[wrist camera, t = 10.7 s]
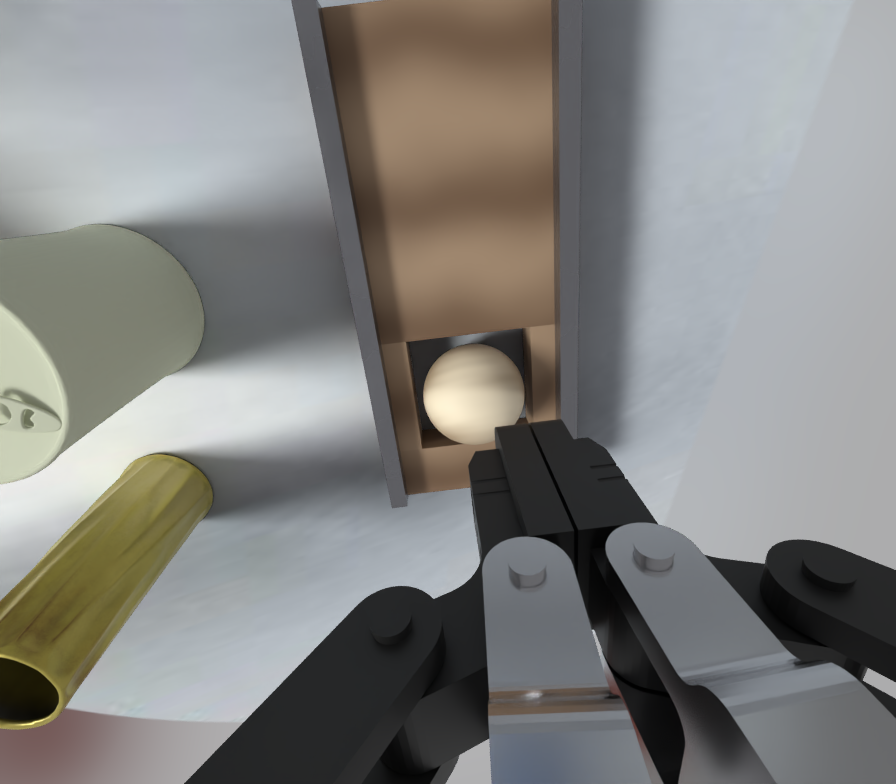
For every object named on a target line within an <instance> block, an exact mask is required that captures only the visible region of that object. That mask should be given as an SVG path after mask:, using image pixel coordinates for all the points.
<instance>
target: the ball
mask: <svg viewBox="0 0 896 784" xmlns="http://www.w3.org/2000/svg"><path fill="white" fill-rule="evenodd" d="M524 397H525V391H524V384H523V380H522V377H521V374H520V372H519V370H518V368H517V367H516V365H515V364H514V363H513V361H512V360H511V359H510V358H509V357H508V356H507V355H505V354H504V353H503V352H501V351H499V350H498V349H496V348H493V347H491V346H487V345H484V344H465V345H460V346H457V347H455V348H452V349H450V350H448V351H447V352H445V353H444V354H443V355H441V356H440V357H439V358H438V359H437V360H436V361H435V363H434V364H433V365H432V367H431V368H430V370H429V372H428V374H427V377H426V380H425V384H424V391H423V398H424V405H425V409H426V412H427V415H428V416H429V418H430V420H431V422H432V423H433V425H434V426H435V427H436V428H437V429H438V430H439V431H440V432H441V433H442V434H443V435H445V436H446V437H448V438H449V439H451V440H454V441H456V442H459V443H462V444H468V445H480V444H485V443H489V442H492V441H495V427H499V426H508V425H515V423H516V422H517V420H518V419H519V416H520V414H521V412H522V409H523V405H524Z"/></svg>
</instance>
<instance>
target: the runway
mask: <svg viewBox="0 0 896 784" xmlns="http://www.w3.org/2000/svg"><path fill="white" fill-rule="evenodd" d="M291 1H292V6H293V11H294V16H295V21H296V26H297V31H298V36H299V41H300V46H301V51H302V56H303V62H304V67H305V72H306V77H307V82H308V87H309V92H310V97H311V102H312V107H313V112H314V117H315V122H316V127H317V132H318V137H319V142H320V147H321V152H322V157H323V162H324V167H325V173H326V178H327V183H328V188H329V193H330V198H331V203H332V208H333V213H334V218H335V223H336V228H337V233H338V238H339V243H340V248H341V253H342V258H343V263H344V268H345V273H346V278H347V283H348V289H349V294H350V299H351V304H352V309H353V314H354V319H355V324H356V329H357V334H358V339H359V344H360V349H361V354H362V359H363V364H364V369H365V374H366V379H367V384H368V389H369V394H370V399H371V405H372V410H373V415H374V420H375V425H376V430H377V435H378V440H379V445H380V450H381V455H382V460H383V465H384V470H385V475H386V480H387V485H388V490H389V495H390V500H391V505H392V508H396V507H405V506H407V504H408V495H410V494H418V493H427V492H435V491H444V490H452V489H461V488H469V487H470V478H469V469H468V465H469V463H470V461H471V459H472V457H473V455H474V453H475V451H483V450H491V449H496V447H495V441H492V442H489V443H485V444H480V445H468V444H462V443H459V442H456V441H454V440H451V439H449V438H448V437H446V436H445V435H443V434H442V433H441V432H440V431H439V430H438V429H437V428H434V429H426V430H422V425H421V419H420V412H419V405H418V399H417V392H416V385H415V379H414V372H413V365H412V359H411V352H410V345H409V341H417V340H426V339H434V338H443V337H451V336H460V335H468V334H476V333H485V332H493V331H502V330H510V329H519V328H522V332H523V357H524V381H525V405H526V418H519V419H518V420H517V422H516V423H515V425H516V424H524V423H527V424H528V423H531V422H540V421H548V420H556V419H561V420H562V421H563V422H564V424H565V425H566V427H567V429H568V431H569V432H570V434H571V436H572V437H573V439H577V411H578V327H579V243H580V159H581V75H582V0H383V1H375V2H366V3H358V4H349V5H341V6H333V7H324V8H321V6H320V4H319V2H318V1H317V0H291Z"/></svg>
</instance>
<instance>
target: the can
mask: <svg viewBox="0 0 896 784" xmlns="http://www.w3.org/2000/svg"><path fill="white" fill-rule="evenodd" d="M203 333H204V311H203V306H202V302H201V298H200V296H199V293H198V291H197V289H196V286H195V284H194V282H193V281H192V279H191V278H190V276H189V274H188V273H187V272H186V270H185V269H184V268H183V266H182V265H181V264H180V263H179V262H178V261H177V260H176V259H175V258H174V257H173V256H172V255H171V254H170V253H169V252H168V251H166V250H165V249H164V248H163V247H161V246H160V245H159V244H157V243H155V242H154V241H152V240H151V239H149V238H147V237H145V236H143V235H141V234H139V233H136V232H134V231H131V230H128V229H125V228H121V227H117V226H112V225H102V224H94V225H84V226H80V227H76V228H73V229H70V230H67V231H62V232H55V233H49V234H41V235H33V236H25V237H17V238H9V239H1V240H0V484H5V483H10V482H15V481H18V480H21V479H25V478H28V477H30V476H32V475H34V474H36V473H38V472H40V471H41V470H43V469H44V468H46V467H47V466H49V465H50V464H51V463H52V462H53V461H54V460H55V459H56V458H57V457H58V456H59V455H60V454H61V453H63V452H64V451H65V450H66V449H68V448H69V447H70V446H72V445H73V444H74V443H75V442H77V441H78V440H79V439H81V438H82V437H83V436H85V435H86V434H87V433H89V432H90V431H91V430H92V429H94V428H95V427H97V426H98V425H99V424H101V423H102V422H103V421H105V420H106V419H107V418H109V417H110V416H111V415H113V414H114V413H115V412H117V411H118V410H119V409H121V408H122V407H124V406H125V405H126V404H128V403H129V402H130V401H132V400H133V399H134V398H136V397H137V396H139V395H140V394H141V393H143V392H144V391H145V390H147V389H148V388H150V387H151V386H152V385H154V384H155V383H157V382H158V381H160V380H161V379H162V378H164V377H165V376H168V375H170V374H172V373H174V372H176V371H178V370H180V369H181V368H182V367H184V366H185V365H186V364H187V363H188V362H189V361H190V360H191V359H192V358H193V356H194V355H195V354H196V352H197V350H198V348H199V346H200V344H201V341H202V337H203Z"/></svg>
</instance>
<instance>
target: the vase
mask: <svg viewBox="0 0 896 784" xmlns="http://www.w3.org/2000/svg"><path fill="white" fill-rule="evenodd" d="M212 502H213V493H212V488H211V485H210V483H209V481H208V480H207V478H206V477H205V475H204V474H203V473H202V472H201V471H200V470H199V469H198V468H196V467H195V466H194V465H192V464H190V463H189V462H187V461H185V460H183V459H180V458H178V457H174V456H169V455H162V454H155V455H148V456H144V457H141V458H138V459H136V460H135V461H133V462H132V463H131V464H130V465H129V466H128V467H127V468H126V469H125V470H124V472H123V473H122V475H121V476H120V478H119V479H118V480H117V481H116V482H115V483H114V484H113V485H112V486H111V487H110V488H109V489H108V490H106V491H105V492H104V493H103V494H102V495H101V496H100V497H99V499H98V500H97V501H96V502H95V503H94V504H93V505H92V506H91V507H90V508H89V509H88V510H87V511H86V512H85V513H84V514H83V515H82V516H81V517H80V518H79V519H78V520H77V521H76V522H75V523H74V524H73V525H72V526H71V527H70V528H69V529H68V530H67V531H66V532H65V534H64V535H63V536H62V537H61V538H60V539H59V540H58V541H57V542H56V543H55V544H54V545H53V546H52V547H51V548H50V550H49V551H48V552H47V553H46V554H45V555H44V557H43V558H42V559H41V560H40V561H39V563H38V564H37V565H36V566H35V567H34V568H33V569H32V570H31V571H30V572H29V573H28V574H27V575H26V576H25V577H24V578H23V579H22V580H21V581H20V582H19V583H18V584H17V585H16V586H15V587H14V588H13V589H12V590H11V591H10V592H9V593H8V594H7V595H6V596H5V597H4V598H3V599H2V600H1V601H0V728H2V729H28V728H33V727H38V726H42V725H45V724H47V723H49V722H51V721H52V720H54V719H55V718H56V717H57V716H59V715H60V714H61V713H62V711H63V710H64V709H65V707H66V706H67V704H68V703H69V701H70V699H71V698H72V696H73V695H74V694H75V692H76V691H77V689H78V688H79V686H80V685H81V684H82V682H83V681H84V680H85V678H86V677H87V675H88V674H89V673H90V671H91V670H92V668H93V667H94V666H95V664H96V663H97V662H98V660H99V659H100V658H101V656H102V655H103V653H104V652H105V651H106V649H107V648H108V646H109V645H110V644H111V642H112V641H113V639H114V638H115V637H116V635H117V634H118V633H119V631H120V630H121V628H122V627H123V626H124V624H125V623H126V621H127V620H128V619H129V617H130V616H131V615H132V613H133V612H134V610H135V609H136V608H137V606H138V605H139V603H140V602H141V601H142V599H143V598H144V597H145V595H146V594H147V592H148V591H149V590H150V588H151V587H152V586H153V584H154V583H155V582H156V580H157V579H158V577H159V576H160V575H161V573H162V572H163V570H164V569H165V568H166V566H167V565H168V563H169V562H170V561H171V559H172V558H173V557H174V555H175V554H176V553H177V551H178V550H179V549H180V547H181V546H182V545H183V543H184V542H185V541H186V539H187V538H188V537H189V535H190V534H191V533H192V531H193V530H194V528H195V527H196V526H197V524H198V523H199V522H200V521H201V520H202V519H203V518H204V517H205V516H206V515H207V513H208V511H209V510H210V508H211V505H212Z"/></svg>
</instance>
